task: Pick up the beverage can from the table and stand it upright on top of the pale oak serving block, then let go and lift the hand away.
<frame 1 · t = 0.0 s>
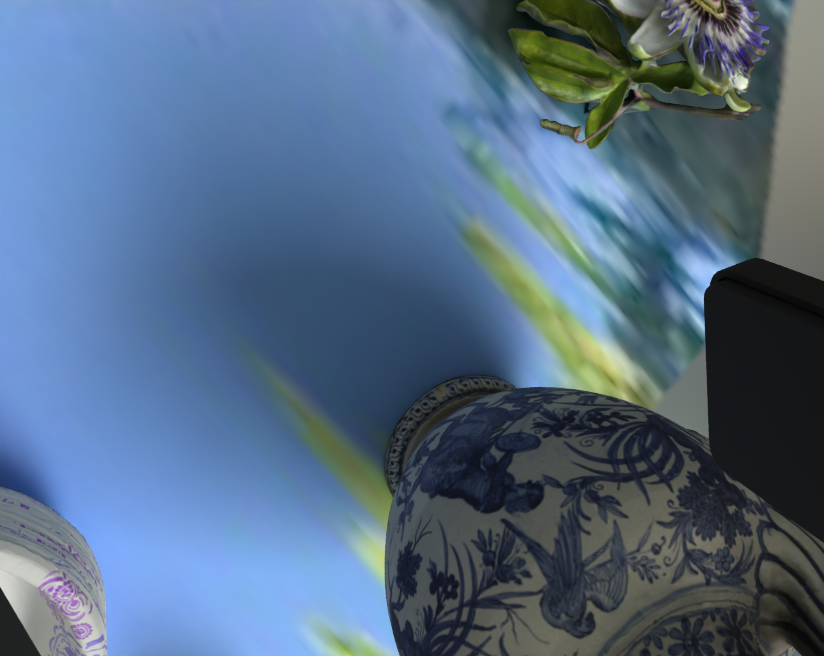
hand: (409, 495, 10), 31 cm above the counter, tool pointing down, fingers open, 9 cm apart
passion flower: (601, 43, 43), on the counter
decorative vase: (461, 447, 50), on the counter
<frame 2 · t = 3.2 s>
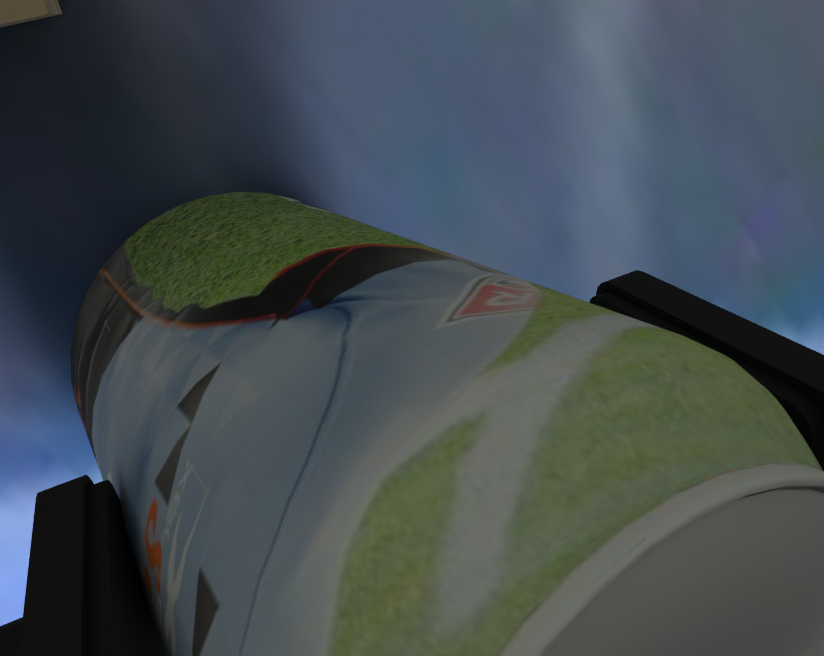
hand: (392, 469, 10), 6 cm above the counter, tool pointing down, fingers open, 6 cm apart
beverage can: (264, 310, 16), on the counter, touching gripper
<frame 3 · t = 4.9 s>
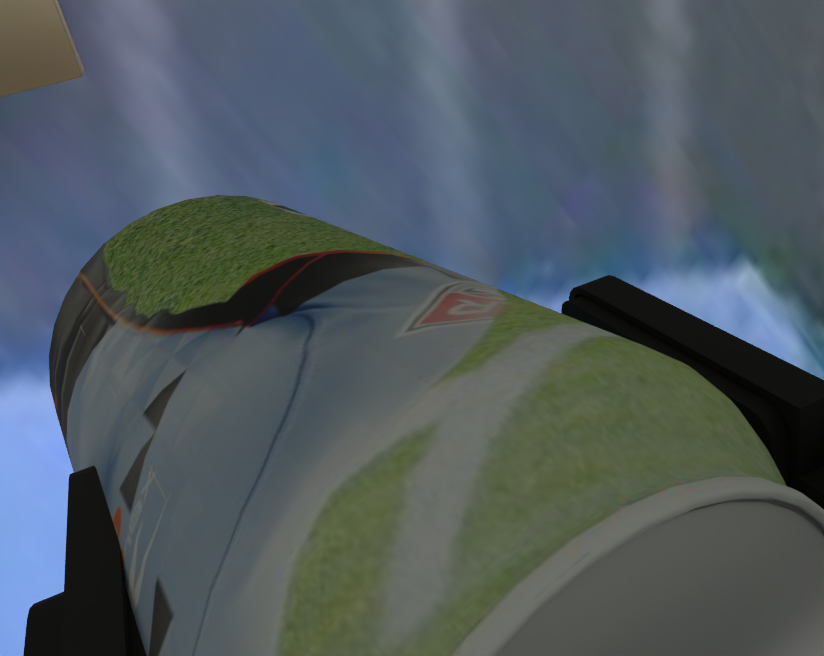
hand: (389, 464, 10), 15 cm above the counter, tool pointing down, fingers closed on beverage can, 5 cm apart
beverage can: (247, 314, 16), point 8 cm above the counter, touching gripper
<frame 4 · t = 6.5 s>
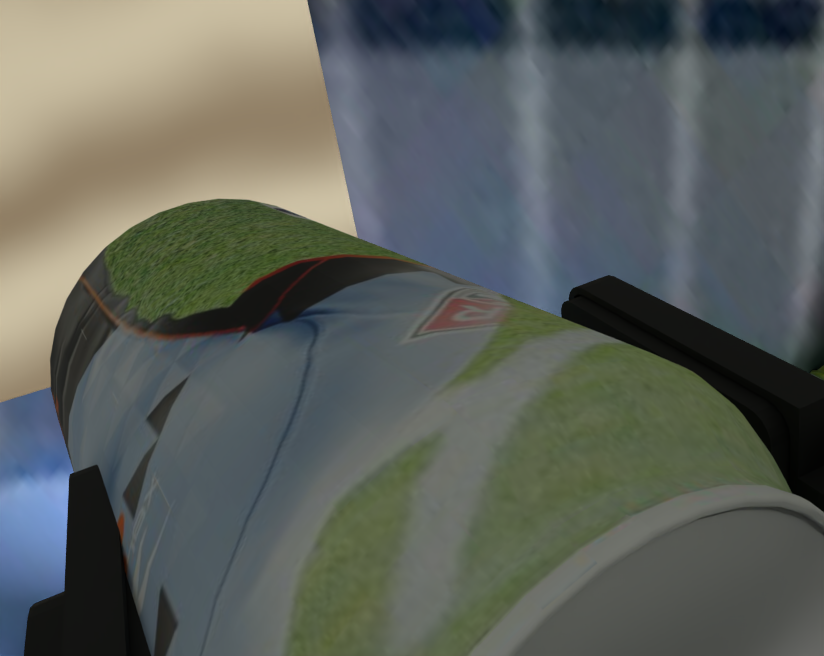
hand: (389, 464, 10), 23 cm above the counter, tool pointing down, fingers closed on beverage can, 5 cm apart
beverage can: (248, 317, 16), point 17 cm above the counter, touching gripper
oak block: (114, 132, 29), on the counter
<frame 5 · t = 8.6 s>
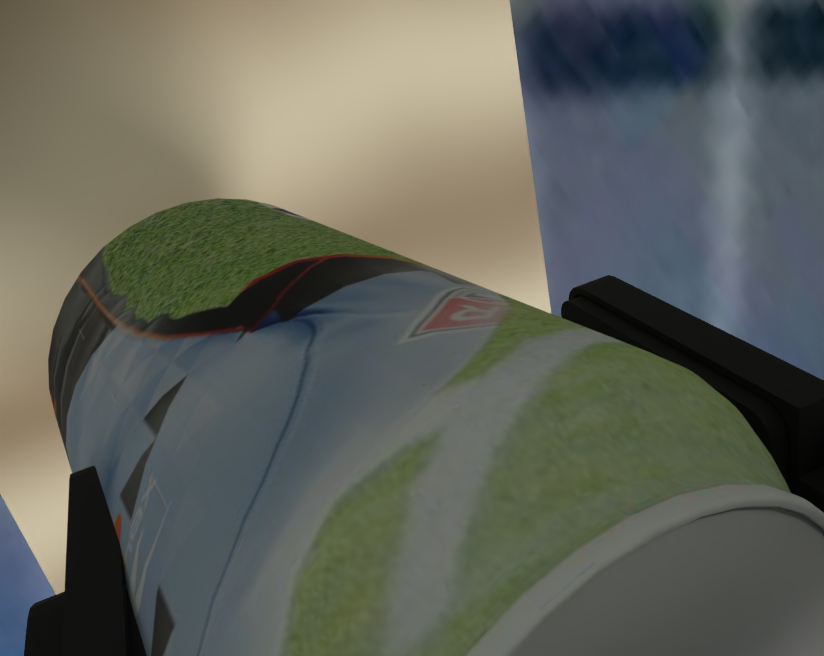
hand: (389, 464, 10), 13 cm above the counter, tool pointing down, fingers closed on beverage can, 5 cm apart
beverage can: (246, 316, 16), point 7 cm above the counter, touching gripper
oak block: (231, 223, 22), on the counter
when the fingers open (12 cm above the counter, at t = 9.7 s): beverage can drops 1 cm, resting on oak block.
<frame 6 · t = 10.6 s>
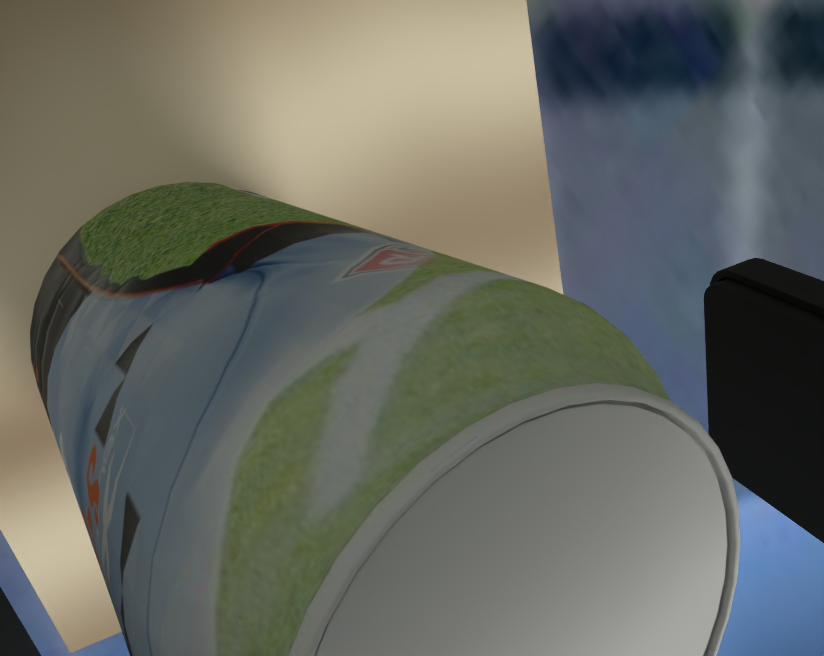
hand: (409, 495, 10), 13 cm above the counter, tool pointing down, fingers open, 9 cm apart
beverage can: (218, 296, 17), point 5 cm above the counter, touching oak block
oak block: (235, 234, 21), on the counter
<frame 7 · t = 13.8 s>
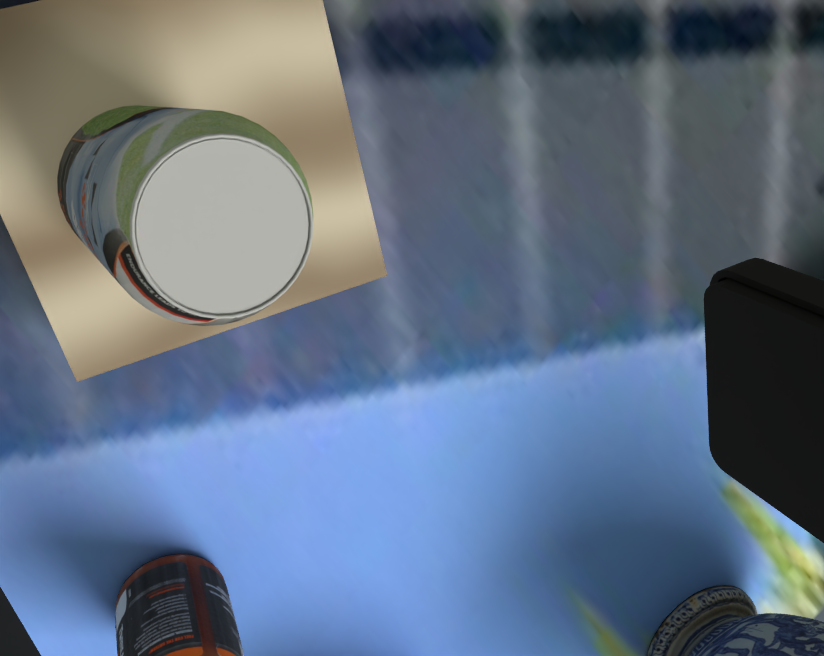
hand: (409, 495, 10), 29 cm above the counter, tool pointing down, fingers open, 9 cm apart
beverage can: (157, 172, 30), point 5 cm above the counter, touching oak block
oak block: (175, 152, 35), on the counter
decorative vase: (698, 636, 63), on the counter
supplement bottle 2: (171, 592, 43), on the counter
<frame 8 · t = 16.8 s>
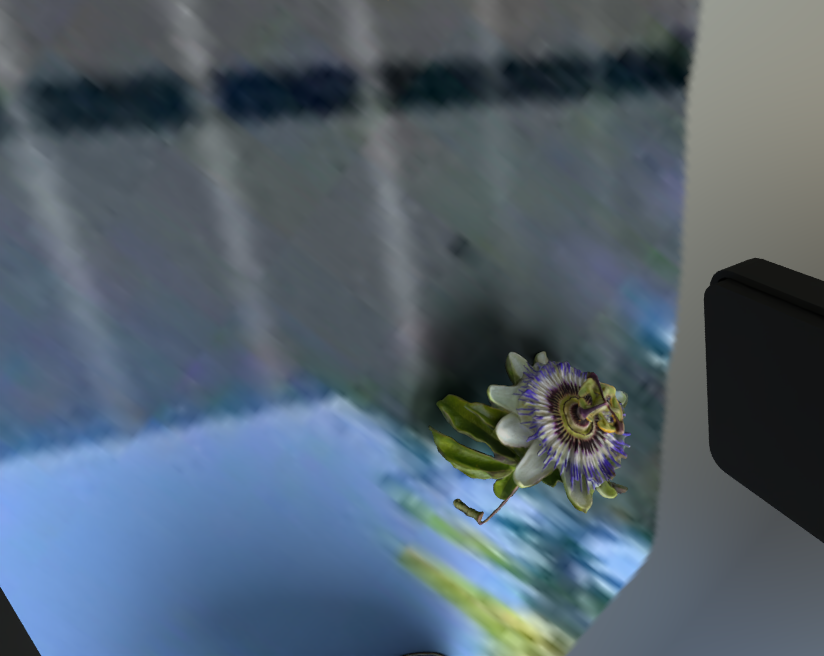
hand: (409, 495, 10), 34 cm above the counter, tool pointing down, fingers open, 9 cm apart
passion flower: (509, 410, 54), on the counter
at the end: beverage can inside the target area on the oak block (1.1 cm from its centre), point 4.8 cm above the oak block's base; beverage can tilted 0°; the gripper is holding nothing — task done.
